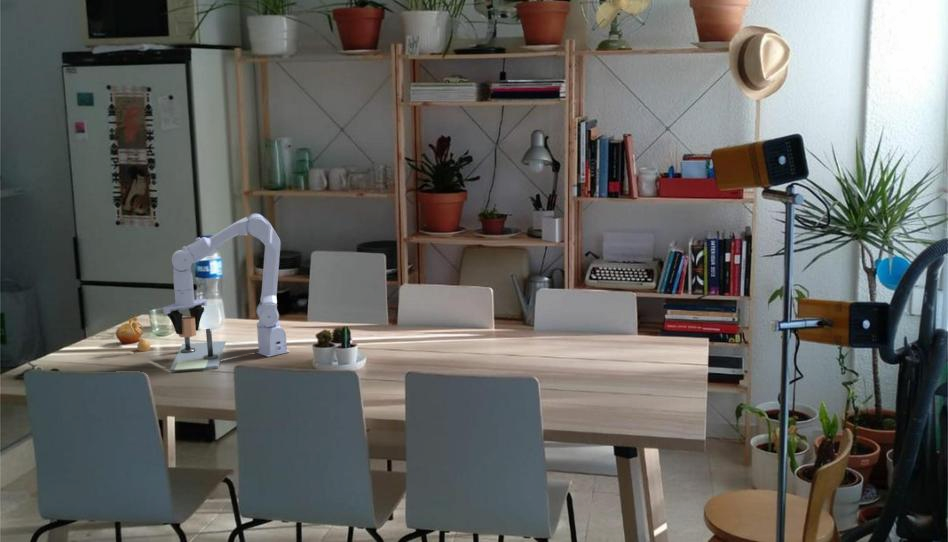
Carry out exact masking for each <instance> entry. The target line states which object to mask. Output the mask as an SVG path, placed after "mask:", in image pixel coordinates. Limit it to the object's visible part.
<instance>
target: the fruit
mask: <svg viewBox="0 0 948 542" xmlns="http://www.w3.org/2000/svg"><path fill="white" fill-rule="evenodd" d="M137 327H138V328H139V329H140V330H141V331H142V328H140V327H141V326H140V325H138V324H137ZM132 328H133V327H132ZM133 330H134V329H133ZM134 332H135V331H134ZM138 335H139V334H137V333H136V332H135V334H133V331H132V330H131V328H130V323H129V322H126V323H123V324H122V325H120V326H119V327H118V328H117V329H116V332H115V336H116V338H117V340H118V341H119V342H120V344H121V345H123V346H126V345H128V344H136V343H137V344H138V343H139V342H140V341H139V339H138V337H137V336H138ZM140 337H141V338H142V335H141V336H140Z"/></svg>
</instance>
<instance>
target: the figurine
mask: <svg viewBox="0 0 948 542" xmlns="http://www.w3.org/2000/svg"><path fill="white" fill-rule="evenodd" d="M128 323H130V328H131V330H132V331H133V334H135V332H136V333H137V334H139V335H138V336H137V337H138V339H139V341H140V342H137V350H138V352H148V351H150V349H151V344H150V342H149V341H147V340H146V339H144V338H142V335H143V334H144V331H143V330H142V329H144V327H143V326H142V324H141V323H139V321H138V316H134V317H132V318H131V317H130V318H129V320H128ZM137 325H138V326H139V327H141V328H140V329H141V330H140V329H139V328H138V327H137ZM132 327H133V328H132ZM133 329H134V330H133ZM134 331H135V332H134ZM140 336H141V337H140Z"/></svg>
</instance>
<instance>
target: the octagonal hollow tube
mask: <svg viewBox="0 0 948 542" xmlns="http://www.w3.org/2000/svg"><path fill="white" fill-rule="evenodd" d="M178 336H179V338H184V337H190V338H192V337H195V336H197V331H196V325H195V317H194V316H191V315H186V316H182V334H178Z"/></svg>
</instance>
